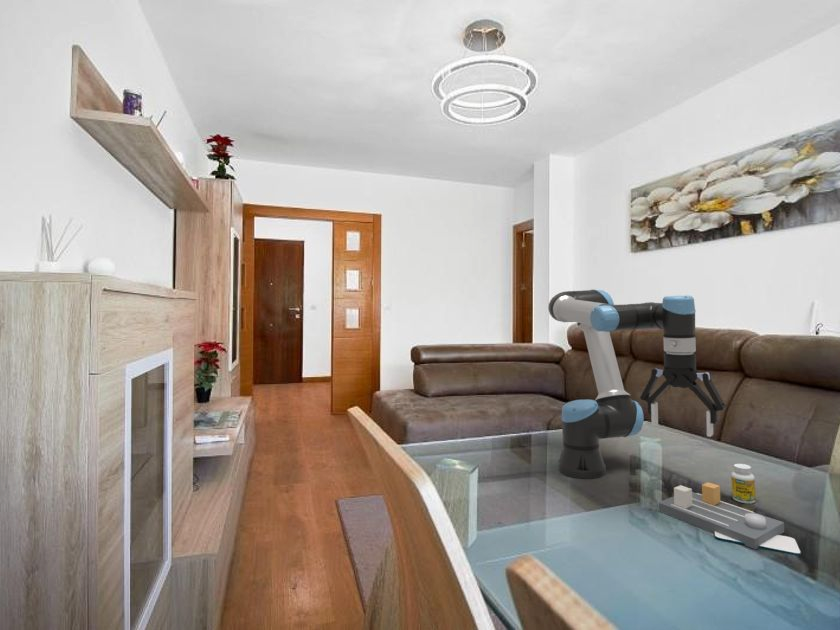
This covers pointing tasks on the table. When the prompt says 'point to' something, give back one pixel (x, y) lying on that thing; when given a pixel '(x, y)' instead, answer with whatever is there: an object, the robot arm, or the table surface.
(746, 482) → the supplement bottle
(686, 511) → the console
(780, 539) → the smartphone
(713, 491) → the slider orange
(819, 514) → the table surface
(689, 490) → the slider ivory
